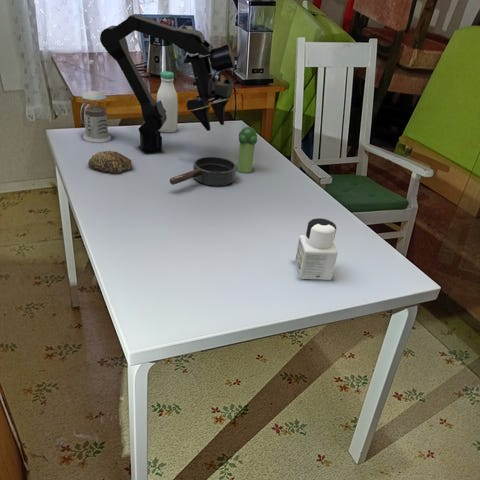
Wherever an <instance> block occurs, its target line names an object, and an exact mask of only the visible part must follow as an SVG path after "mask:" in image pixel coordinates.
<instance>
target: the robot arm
mask: <svg viewBox="0 0 480 480" xmlns="http://www.w3.org/2000/svg"><path fill="white" fill-rule="evenodd" d="M133 32H137V33H141V34H144V35H147V36H149V37H154V38H157V39H159V40H162V41H165V42H169V43H171V44H173V45H175V46H176V47H178V48H179V49H180V50H182V51H184V52H186V53H187V54H186V57H185V58H184V60H183V64H184V65H185V64H190V66H191V70H192V75H193V78H194V81H192V85H193V87H196V90H197V94H198V95H196V97H195V98H192V99H188V100H187V101H186V104H185V105H186V109H187V111H190V114H192V115H194V117H195V118H196V119H197V121H199V122H200V124H201V125H202V127H204V129H205V130H206V131H207V132H209V131H211V123H210V117H209V111H210V109H211V108H212V110H213V113H214V115H215V117H216V119H217V121H218V123H219V124H220V126H224V125H225V111H226V106H227V104H228V102H230V99H231V98H232V95H233V90H235V86H234V81H233V79H232V78H225V79H224V80H223V81H218V78H217V76H213V71H212V70H214V71H215V72H216V73H219V72H223V71H226V70H230V69H235V67H236V63H235V62H236V61H235V57H234V53H233V52H232V49H231V47H230V43H224V44H222V45H220V46H215V47H214V46H213V45H212V44H210V42H208V41H207V40H206V39H205V35H204V34H203V32H202V31H200V30H199V29H192V28H181V27H180V28H179V27H174V26H171V25H169V24H165V23H162V22H159V21H157V20H154V19H151V18H147V17H144V16H141V15H140V14H138V13H133V14H130V15H129V16H128V17H126V19H125V20H123V21H122V22H120V23H119V24H117V25H110V26H108V27H106V28H104V29H103V30H102V31H101V32H100V36H99V41H100V44H101V46H102V47H103V48H104V49H105V51H106V52H107V53H108V55H110V56H111V58H113V60H115V61H116V62H117V64H118V66H119V68H120V70H121V71H122V74H123V76H124V77H125V79H126V81H127V83H128V85H129V87H130V88H131V90H132V92H133V94H134V96H135V98H136V99H137V101H138V103H139V105H140V110H141V115H142V118H143V123H141V125H140V126H139V127H138V132H139V145H138V149H139V150H140V151H141V152H142V153H143V154H145V155H147V154H159V153H163V152H164V151H163V136H162V134H161V133H162V132H161V131H159V129H161V127H162V126H163V125H164V123H165V122H166V118H167V116H166V112H167V111H166V110H165V109H164V107H163V105H162V102H161V100H160V101H158V102H157V100H156V99H154V98H153V96H152V94H151V92H150V91H149V89H148V86H147V85H146V83H145V81H144V79H143V77H142V75H141V73H140V71H139V70H138V68H137V66H136V63H135V62H134V60H133V58H132V56H131V54H130V49H129V44H128V41H127V36H129V35H131V34H132V33H133Z"/></svg>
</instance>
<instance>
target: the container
mask: <svg viewBox="0 0 480 480" xmlns="http://www.w3.org/2000/svg"><path fill="white" fill-rule="evenodd" d="M336 233H337V226H336V224H335V223H334V222H333V221H332V220H329V219H327V218H323V217H322V218H319V217H318V218H313V219H310V220H309V221H308V222H307V227H306V233H305V234H300V235H299V238H298V243H297V248H296V254H295V258H294V259H295V260H294V263H295V266H296V269H297V273H298V276H299V279H300V280H323V281H325V280H327V281H331V280H332V279H333V275H334V272H335V271H334V270H335V267H336V262H337V259H338V255H339V254H338V253H339V252H338V249H337V248H336V245H335V243H334V242H335V238H336Z"/></svg>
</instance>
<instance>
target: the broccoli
mask: <svg viewBox="0 0 480 480" xmlns="http://www.w3.org/2000/svg"><path fill="white" fill-rule="evenodd" d="M257 142H258V134H257V131H256V129H254V128H253V127H252V126H245V127H243V128H242V129H241V130H240V132H239V133H238V143H239V149H238V159H237V171H238V172H240V173H243V174H249V173H251V172H252V171H253V164H254V155H255V146H256V144H257Z"/></svg>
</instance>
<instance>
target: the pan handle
mask: <svg viewBox="0 0 480 480" xmlns="http://www.w3.org/2000/svg"><path fill="white" fill-rule="evenodd" d="M200 175H202V170H201V169H196V170H190V171H188V172H184V173H182V174H178V175H176V176H173V177H171V178H170V179H169V183H170V185H173V186H175V185H177V184H180V183H182V182H186V181H189V180H191V179H195V178H194V177H197V176H200Z"/></svg>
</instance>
